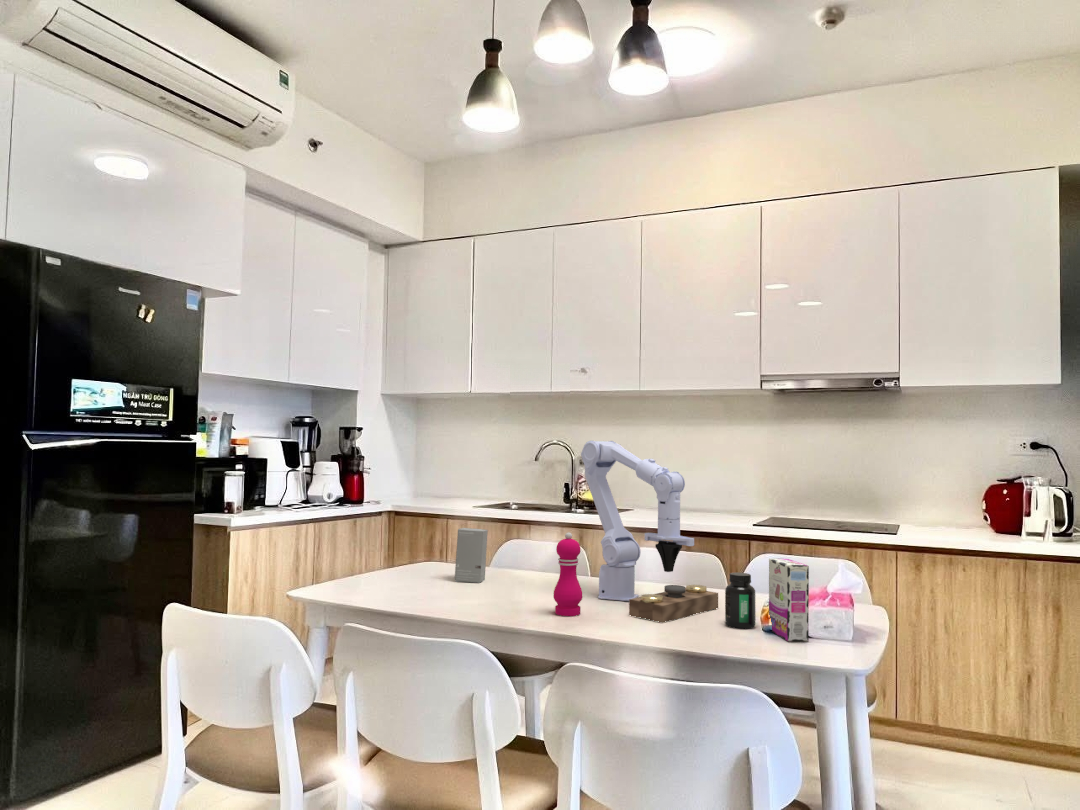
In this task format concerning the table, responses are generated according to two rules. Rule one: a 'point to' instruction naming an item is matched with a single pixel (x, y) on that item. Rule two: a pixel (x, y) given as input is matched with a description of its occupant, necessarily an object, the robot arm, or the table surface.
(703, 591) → the far brass knob
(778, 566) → the candy bar box
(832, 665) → the table surface
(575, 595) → the pepper mill
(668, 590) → the middle black knob
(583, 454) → the robot arm
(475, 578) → the skincare box
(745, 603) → the supplement bottle
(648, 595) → the near brass knob
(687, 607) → the control panel
